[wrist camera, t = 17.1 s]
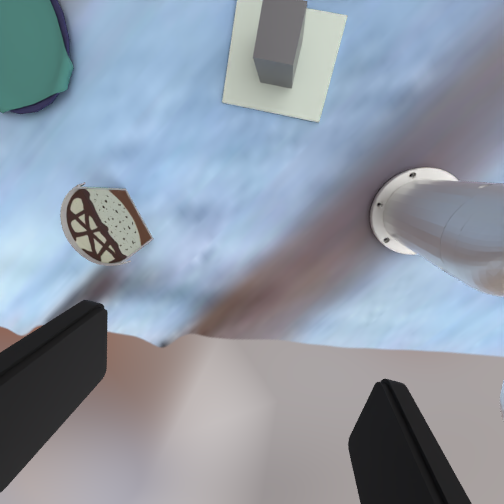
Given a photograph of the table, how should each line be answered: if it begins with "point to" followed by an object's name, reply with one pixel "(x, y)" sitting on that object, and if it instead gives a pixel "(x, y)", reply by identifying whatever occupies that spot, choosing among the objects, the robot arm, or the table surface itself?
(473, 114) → the table surface
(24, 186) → the table surface
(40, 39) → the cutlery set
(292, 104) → the mat
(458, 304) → the table surface
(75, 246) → the food container
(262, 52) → the block
